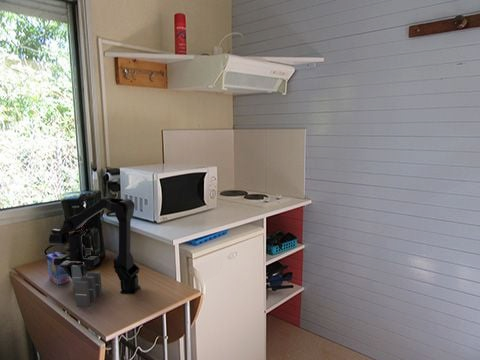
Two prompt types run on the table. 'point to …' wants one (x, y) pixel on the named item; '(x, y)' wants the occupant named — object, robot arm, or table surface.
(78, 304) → the domino
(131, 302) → the table surface
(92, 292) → the domino
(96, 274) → the domino
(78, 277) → the domino
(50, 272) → the ink cartridge box
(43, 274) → the table surface
